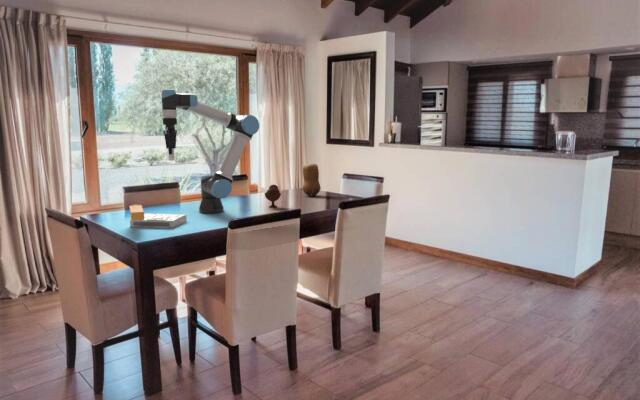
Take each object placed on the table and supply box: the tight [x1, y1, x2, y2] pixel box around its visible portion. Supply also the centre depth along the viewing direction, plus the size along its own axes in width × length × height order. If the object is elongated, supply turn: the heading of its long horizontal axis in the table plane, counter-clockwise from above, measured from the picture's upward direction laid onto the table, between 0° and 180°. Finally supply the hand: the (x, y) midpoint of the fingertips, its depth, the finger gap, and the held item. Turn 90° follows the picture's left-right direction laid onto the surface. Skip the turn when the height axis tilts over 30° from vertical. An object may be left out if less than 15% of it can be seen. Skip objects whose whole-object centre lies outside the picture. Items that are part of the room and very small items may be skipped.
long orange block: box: [129, 204, 145, 221], centre depth 251 cm, size 6×24×4 cm, turn 23°
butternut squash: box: [302, 163, 322, 197], centre depth 366 cm, size 14×13×25 cm
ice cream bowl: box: [264, 184, 282, 209], centre depth 318 cm, size 11×11×15 cm
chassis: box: [129, 212, 188, 229], centre depth 266 cm, size 18×24×7 cm
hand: (171, 159), depth 273 cm, fingers closed
